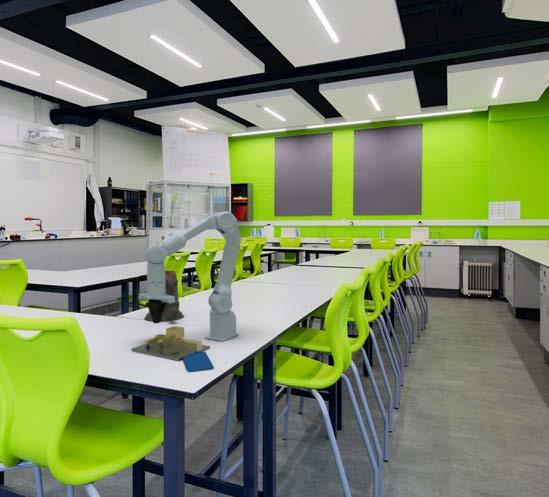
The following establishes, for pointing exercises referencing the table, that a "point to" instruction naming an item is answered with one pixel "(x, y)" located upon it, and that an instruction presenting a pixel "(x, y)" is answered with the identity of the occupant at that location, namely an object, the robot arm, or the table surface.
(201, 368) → the smartphone
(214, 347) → the table surface
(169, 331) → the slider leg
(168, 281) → the tankard
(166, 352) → the base
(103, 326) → the table surface
